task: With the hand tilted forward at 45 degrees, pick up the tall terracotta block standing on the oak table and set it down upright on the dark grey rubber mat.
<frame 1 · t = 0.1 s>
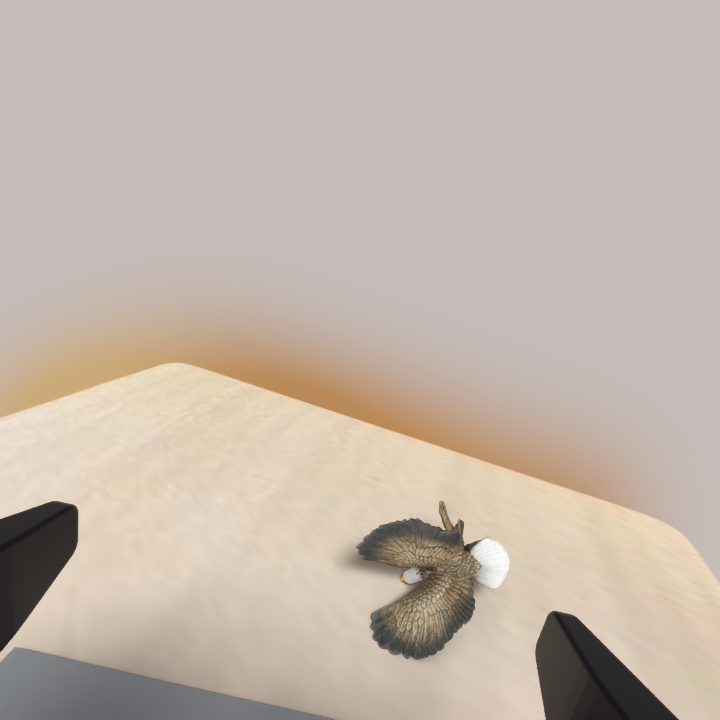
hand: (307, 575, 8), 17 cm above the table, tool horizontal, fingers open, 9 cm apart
grey brown animal figure: (421, 604, 29), on the table
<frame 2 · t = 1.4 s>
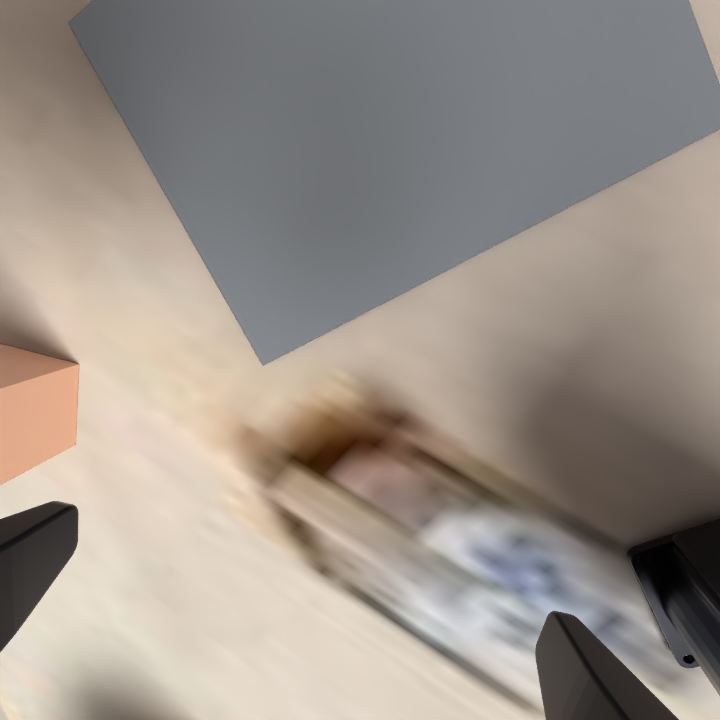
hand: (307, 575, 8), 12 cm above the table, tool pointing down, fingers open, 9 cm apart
mat: (375, 72, 17), on the table
block: (38, 394, 23), on the table
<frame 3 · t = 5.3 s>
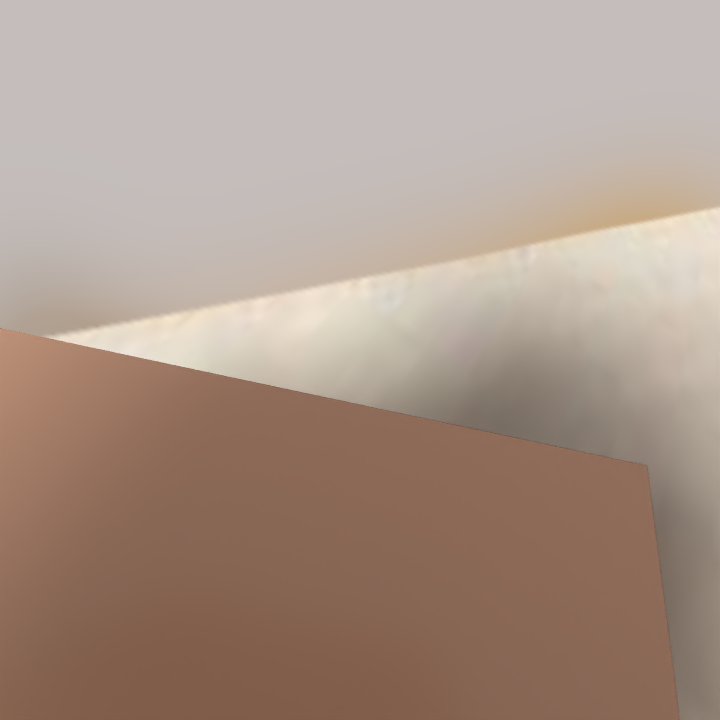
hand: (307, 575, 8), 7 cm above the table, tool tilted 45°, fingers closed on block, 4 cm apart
block: (301, 634, 13), on the table, touching gripper
when the fingers open (8 cm above the table, at t = 9.5 s): block stays where it is, resting on mat.
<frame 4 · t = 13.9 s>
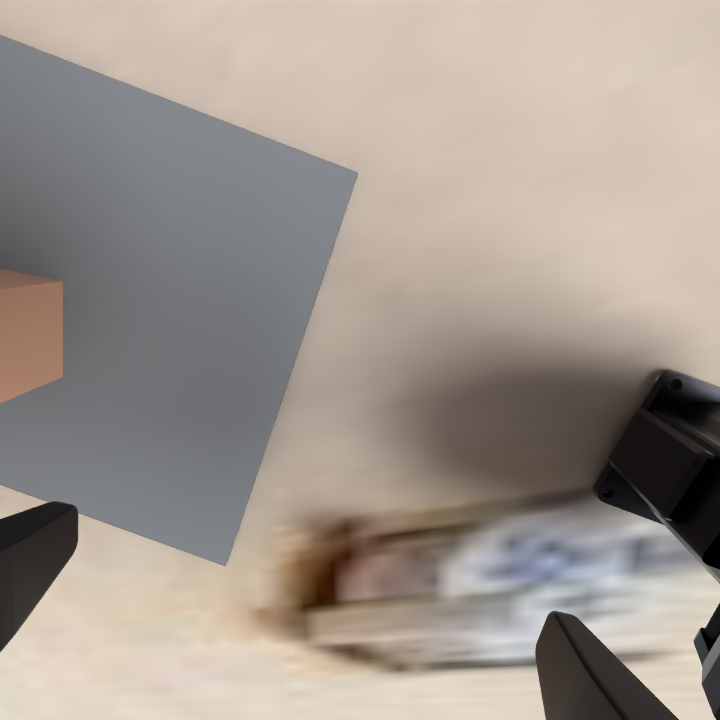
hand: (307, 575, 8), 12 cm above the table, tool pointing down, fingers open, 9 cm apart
mat: (119, 332, 20), on the table
block: (15, 320, 20), resting on mat
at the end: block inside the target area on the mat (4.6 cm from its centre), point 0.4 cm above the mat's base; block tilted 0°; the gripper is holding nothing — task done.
